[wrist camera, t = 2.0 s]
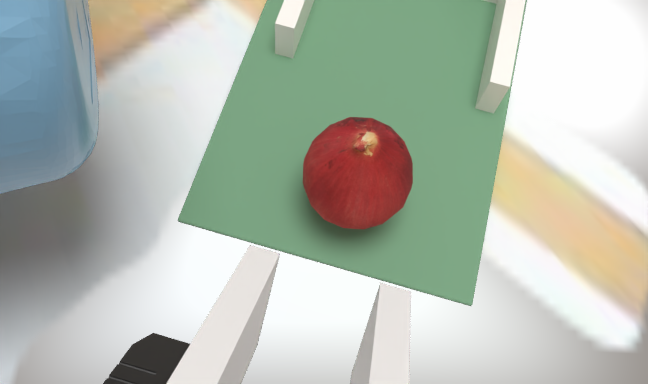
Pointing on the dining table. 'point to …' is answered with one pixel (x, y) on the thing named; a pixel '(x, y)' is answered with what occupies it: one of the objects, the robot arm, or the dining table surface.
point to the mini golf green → (497, 55)
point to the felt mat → (369, 102)
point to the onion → (357, 173)
